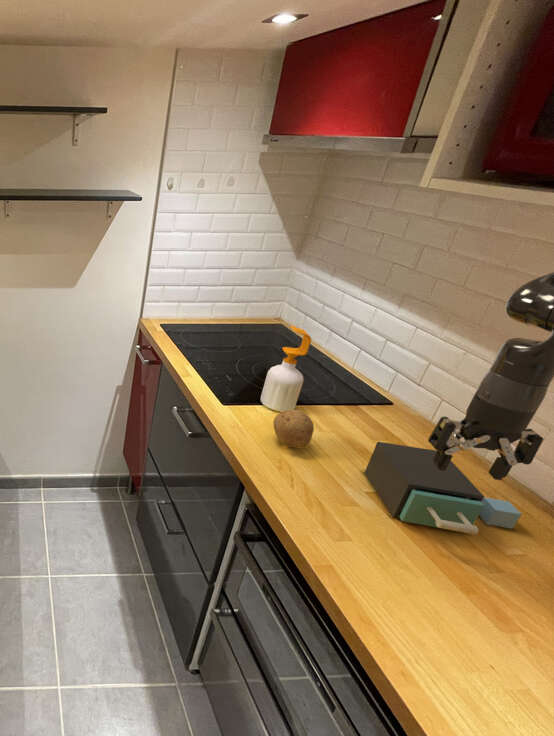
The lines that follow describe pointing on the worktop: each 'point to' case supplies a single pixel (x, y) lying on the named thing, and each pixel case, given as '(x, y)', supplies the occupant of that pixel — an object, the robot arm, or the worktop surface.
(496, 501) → the pale blue rectangular block
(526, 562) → the worktop surface
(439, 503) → the teal drawer
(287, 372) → the soap bottle
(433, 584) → the worktop surface
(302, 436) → the brown potato
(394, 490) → the dark grey drawer cabinet
